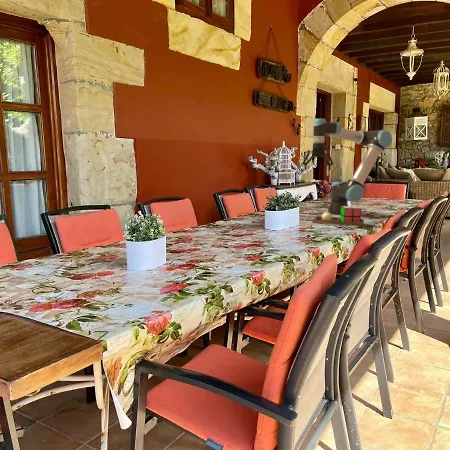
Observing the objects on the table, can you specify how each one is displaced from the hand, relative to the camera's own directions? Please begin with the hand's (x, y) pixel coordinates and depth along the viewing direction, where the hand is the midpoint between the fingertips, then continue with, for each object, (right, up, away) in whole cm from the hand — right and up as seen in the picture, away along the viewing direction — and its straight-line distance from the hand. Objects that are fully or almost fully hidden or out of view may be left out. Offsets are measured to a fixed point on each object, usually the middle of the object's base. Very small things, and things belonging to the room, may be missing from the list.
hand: (317, 175), depth 284 cm
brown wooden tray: (+9, -33, -19) cm, 39 cm away
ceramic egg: (+2, -31, -17) cm, 35 cm away
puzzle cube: (+16, -32, -22) cm, 42 cm away
